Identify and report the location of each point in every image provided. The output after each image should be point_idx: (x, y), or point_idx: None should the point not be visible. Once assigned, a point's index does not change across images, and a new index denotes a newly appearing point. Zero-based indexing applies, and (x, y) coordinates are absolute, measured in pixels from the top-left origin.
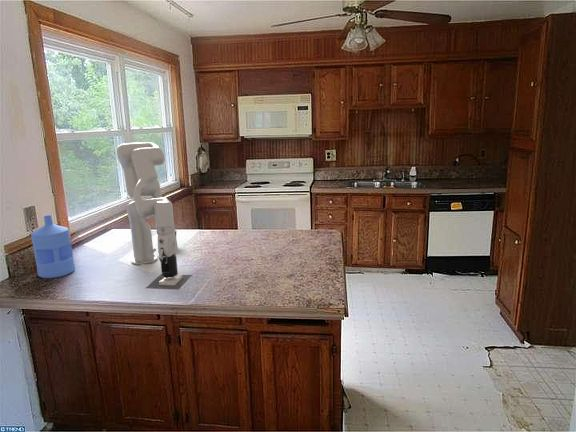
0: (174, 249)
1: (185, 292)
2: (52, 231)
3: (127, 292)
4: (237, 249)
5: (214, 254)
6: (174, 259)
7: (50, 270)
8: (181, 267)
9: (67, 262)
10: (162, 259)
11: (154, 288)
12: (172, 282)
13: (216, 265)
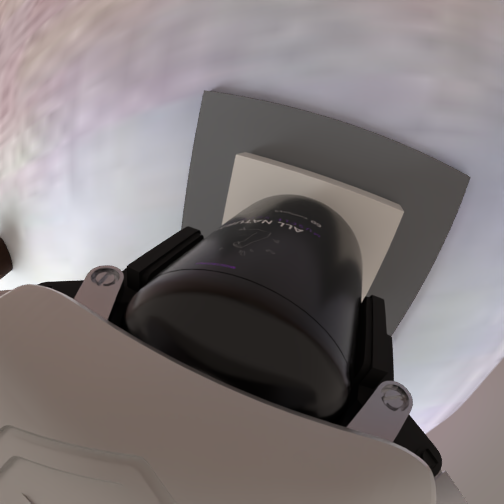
0: (99, 420)
1: (499, 131)
2: None
3: None
4: (5, 28)
5: (12, 85)
6: (301, 302)
7: None
8: (90, 191)
9: None
10: (443, 482)
11: (395, 328)
12: (396, 227)
13: (88, 15)
